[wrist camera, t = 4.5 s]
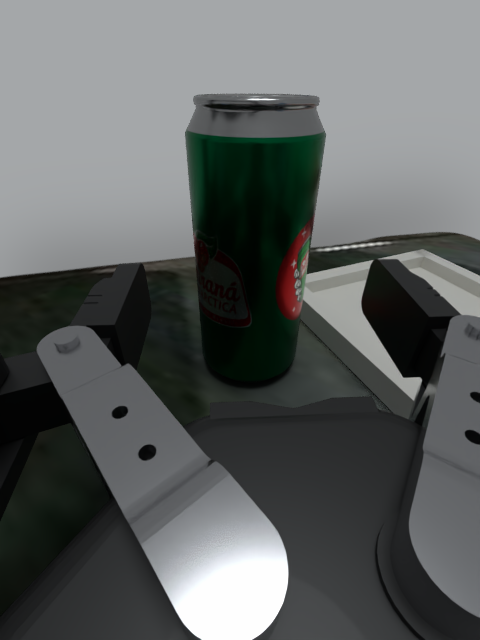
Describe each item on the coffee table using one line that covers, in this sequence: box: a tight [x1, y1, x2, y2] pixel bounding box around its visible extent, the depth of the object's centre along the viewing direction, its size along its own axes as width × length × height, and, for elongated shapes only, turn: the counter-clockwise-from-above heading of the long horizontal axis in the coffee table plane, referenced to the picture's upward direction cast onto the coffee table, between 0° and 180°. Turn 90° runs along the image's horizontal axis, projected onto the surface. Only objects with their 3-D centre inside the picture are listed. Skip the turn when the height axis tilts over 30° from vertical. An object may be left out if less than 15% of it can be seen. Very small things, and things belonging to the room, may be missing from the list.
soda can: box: [185, 94, 326, 383], centre depth 15 cm, size 5×5×12 cm
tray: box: [300, 249, 480, 419], centre depth 20 cm, size 13×13×2 cm
